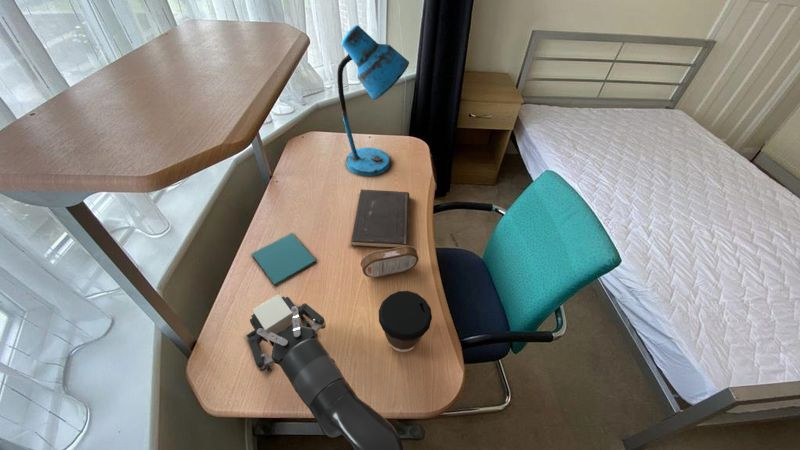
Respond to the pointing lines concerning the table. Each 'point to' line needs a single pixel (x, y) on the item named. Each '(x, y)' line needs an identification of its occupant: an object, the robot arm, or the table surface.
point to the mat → (283, 258)
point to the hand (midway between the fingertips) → (268, 307)
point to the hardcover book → (381, 219)
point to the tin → (389, 261)
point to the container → (274, 315)
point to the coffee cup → (404, 319)
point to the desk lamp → (369, 90)
